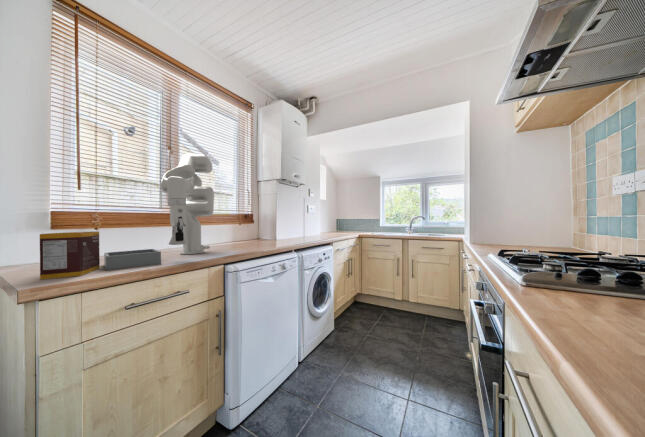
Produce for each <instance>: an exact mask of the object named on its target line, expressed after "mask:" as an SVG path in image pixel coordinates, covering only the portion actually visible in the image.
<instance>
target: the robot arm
mask: <svg viewBox="0 0 645 437" xmlns="http://www.w3.org/2000/svg"><path fill="white" fill-rule="evenodd" d="M212 171H213V163H212V161H211V160H210V158H209V157H208V156H207V155H205V154H201V153H200V154H199V153H198V154H197V153H185V154H183V155H182V156H181V158H180V161H179V163H178V166H176V167H173V168H172V169H169V170H167V171H166V172H165V173H164V174H163V176H162V179H161V182H160V190H161V191H162V192H163V193H165V194H167V207H170V208H169V221H170V222H169V223H170V226H171V227H172V230H171V231H172V233H171V236H172V235H173V232H174V226H176V233H175V235H176V241H183V240H184V237H185V239H186V241H187V243H186V244H182V248H183V249H182V251H180V252H179V253H180V255H196V254H203V253H205V250H209V249H210V248H211V247H210V246H211V245H204V244H202V223H201V221H200V220H199V217H211V216H212V215H214V209H215V208H214V205H215V192H214V189H213V187H211V186H207V185H203V184H202V183H203V181H202V179H201V178H200V176H199V175H197V174H198V173H199V174H200V173H202V174H203V173H204V174H209V173H211V172H212ZM177 225H179V226H177Z"/></svg>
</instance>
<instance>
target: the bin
mask: <svg viewBox="0 0 645 437" xmlns="http://www.w3.org/2000/svg"><path fill="white" fill-rule="evenodd" d="M103 256H104V257H103V260H104V261H103V262H104V264H103V265H104V268H105V271H111V270H120V269H121V270H122V269H128V268H135V267H145V266H146V267H147V266H153V265H162V251H160V250H158V249H154V248H149V249H148V248H146V249H145V248H144V249H135V250H133V249H132V250H124V251H123V250H122V251H120V250H119V251H109V252H104V253H103Z"/></svg>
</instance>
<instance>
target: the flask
mask: <svg viewBox="0 0 645 437" xmlns="http://www.w3.org/2000/svg"><path fill="white" fill-rule="evenodd" d="M177 226H179V225H177ZM175 233H176V226H174V232H173V235H172V234H171V238H170V240H169V242H168V245H170V246H178V245H179V246H180V245H183V244H186V243H187V241H186V239H185V237H184V240H183V241H176V235H175Z"/></svg>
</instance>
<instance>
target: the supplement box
mask: <svg viewBox="0 0 645 437" xmlns="http://www.w3.org/2000/svg"><path fill="white" fill-rule="evenodd" d="M100 260H101V259H100V231H99V230H98V231H69V232H68V231H66V232H49V233H39V280H48V279H49V280H50V279H60V278H71V277H81V276H85V275H87V274H89V273H92V272H94V271H97V270H99V269H100V263H101V262H100Z"/></svg>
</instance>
